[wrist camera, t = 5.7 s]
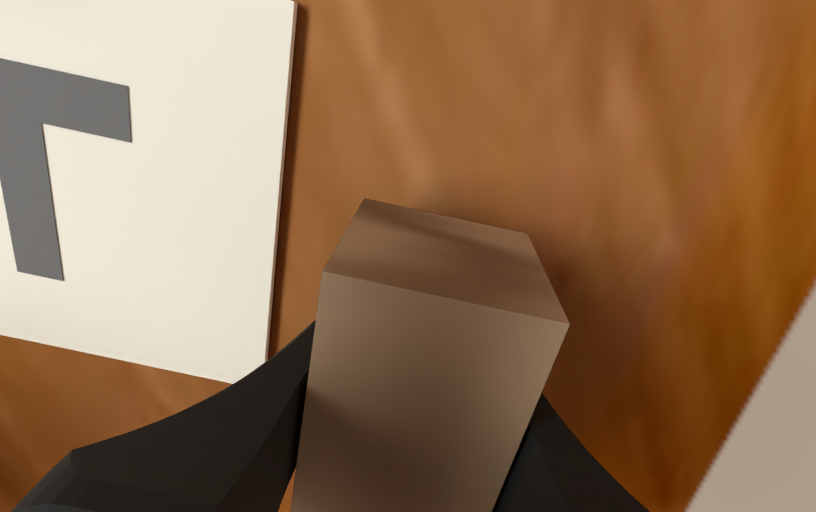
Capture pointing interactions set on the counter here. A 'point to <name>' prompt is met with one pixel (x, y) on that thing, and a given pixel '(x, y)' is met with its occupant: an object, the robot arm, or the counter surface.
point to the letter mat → (144, 177)
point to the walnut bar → (423, 364)
